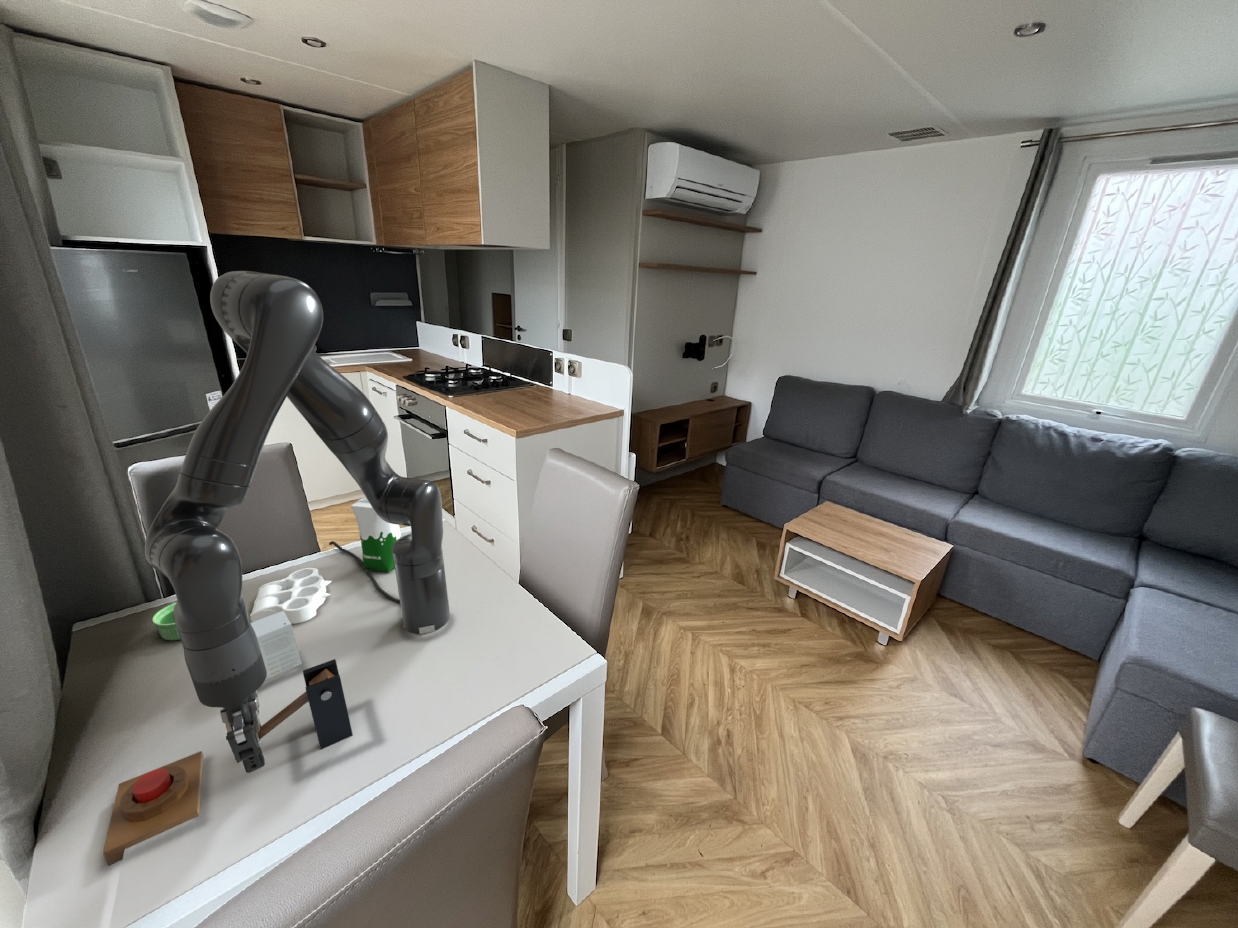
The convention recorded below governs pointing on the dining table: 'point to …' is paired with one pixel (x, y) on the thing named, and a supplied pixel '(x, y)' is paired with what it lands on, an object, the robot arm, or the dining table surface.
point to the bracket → (328, 705)
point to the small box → (277, 643)
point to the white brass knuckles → (292, 596)
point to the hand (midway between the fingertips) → (255, 752)
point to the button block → (154, 808)
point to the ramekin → (166, 623)
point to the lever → (291, 707)
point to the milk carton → (375, 537)
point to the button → (151, 785)
